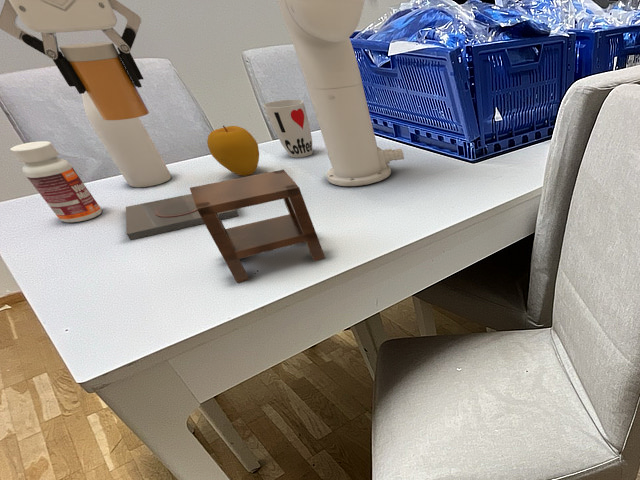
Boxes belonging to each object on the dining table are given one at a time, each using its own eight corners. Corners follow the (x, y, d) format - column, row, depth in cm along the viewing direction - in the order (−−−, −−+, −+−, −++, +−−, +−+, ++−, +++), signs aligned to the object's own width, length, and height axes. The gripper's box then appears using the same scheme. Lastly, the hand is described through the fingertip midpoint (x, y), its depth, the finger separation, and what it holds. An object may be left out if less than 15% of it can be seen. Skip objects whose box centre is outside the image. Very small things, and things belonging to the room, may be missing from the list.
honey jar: (149, 109, 71) (113, 41, 65) (150, 116, 67) (112, 44, 61) (102, 114, 69) (60, 44, 63) (101, 122, 65) (56, 49, 59)
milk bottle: (180, 179, 92) (114, 58, 78) (140, 190, 88) (63, 65, 74) (161, 173, 95) (94, 56, 81) (122, 184, 91) (44, 62, 77)
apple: (239, 166, 97) (218, 119, 91) (277, 167, 96) (258, 119, 90) (213, 180, 91) (188, 130, 85) (253, 181, 90) (231, 131, 84)
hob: (227, 192, 86) (224, 186, 85) (238, 215, 77) (235, 209, 77) (129, 212, 80) (125, 206, 79) (130, 240, 71) (125, 233, 70)
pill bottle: (102, 218, 78) (52, 146, 70) (59, 226, 76) (2, 153, 68) (104, 207, 82) (56, 137, 74) (62, 215, 79) (9, 144, 71)
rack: (309, 236, 71) (283, 169, 64) (325, 258, 65) (299, 186, 58) (227, 258, 66) (189, 187, 59) (236, 283, 60) (196, 208, 54)
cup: (284, 161, 99) (264, 109, 92) (281, 152, 104) (261, 102, 97) (322, 155, 102) (305, 104, 95) (316, 147, 107) (300, 97, 100)
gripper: (-100, -98, 47) (34, 101, 60) (96, -92, 54) (180, 85, 67) (-81, -91, 52) (40, 93, 64) (97, -87, 59) (176, 78, 71)
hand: (110, 87), depth 65 cm, fingers closed on honey jar, 6 cm apart
